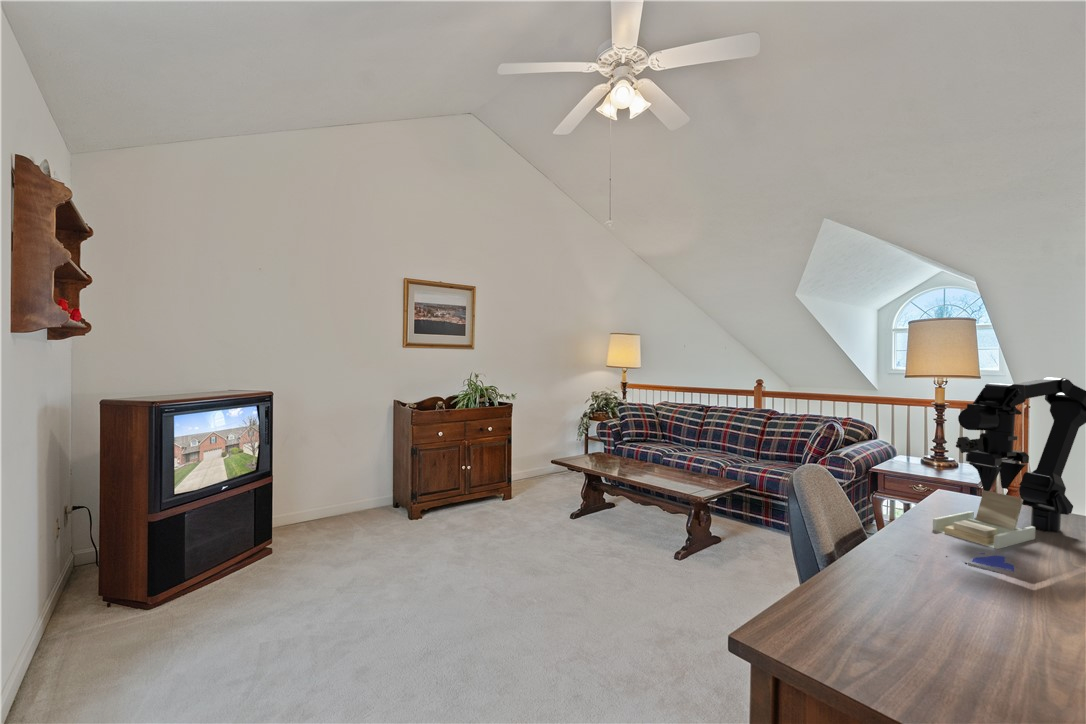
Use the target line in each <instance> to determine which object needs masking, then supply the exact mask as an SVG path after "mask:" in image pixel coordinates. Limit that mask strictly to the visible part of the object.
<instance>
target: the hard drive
mask: <svg viewBox="0 0 1086 724" xmlns="http://www.w3.org/2000/svg"><path fill="white" fill-rule="evenodd" d="M980 555H986V553H985V552H981V553H980ZM971 562H972V563H971ZM971 562H967V566H968V567H971V568H972V567H973V568H976V569H979V570H980V569H981V570H985V571H988V572H993V573H997V574H1001V575H1004V576H1005V575H1006V574H1004V573H1001V572H998V571H995V570H992V569H990V568H991V567H992V568H998V569H1001V570H1005V571H1009V572H1014V571H1015V565H1014V564H1011V563H1008V562H1006V557H1005V556H1003V555H988V556H978V557H974V558H972V560H971ZM977 564H978V565H977ZM980 565H981V566H980ZM983 565H985V566H987V567H990V568H986V567H983Z"/></svg>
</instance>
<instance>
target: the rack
mask: <svg viewBox="0 0 1086 724" xmlns="http://www.w3.org/2000/svg"><path fill="white" fill-rule="evenodd" d="M963 520H965V521H969V522H973V523H977V524H980V525H984V526H988V527H992V528H996V529H997V535H994V543H991V544H988V545H985V544H982V543H978V542H975V541H971V540H968V539H965V538H961V537H958V536H954V535H951V534H947V533H944V532H945V527H947V526H951V525H954V522H959V521H963ZM932 531H935V532H938V533H942V534H945V535H949V536H953V537H955V538H958V539H962V540H965V541H969V542H972V543H976V544H979V545H983V546H986V547H990V548H994V549H997V550H999V549H1002V548H1006V547H1010V546H1015V545H1017V544H1020V543H1021V544H1022V543H1025V542H1029V541H1032V540H1035V539H1036V529H1035V527H1033V526H1031V525H1030V526H1026V527H1022V528H1020V527H1016V529H1015V530H1011V529H1008V528H1004V527H1000V526H996V525H992V524H988V523H984V522H981V521H977V520H976V516H975V511H972V510H968V511H963V512H959V513H954V514H950V515H944V516H939V517H935V518H934V517H933V518H932Z"/></svg>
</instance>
